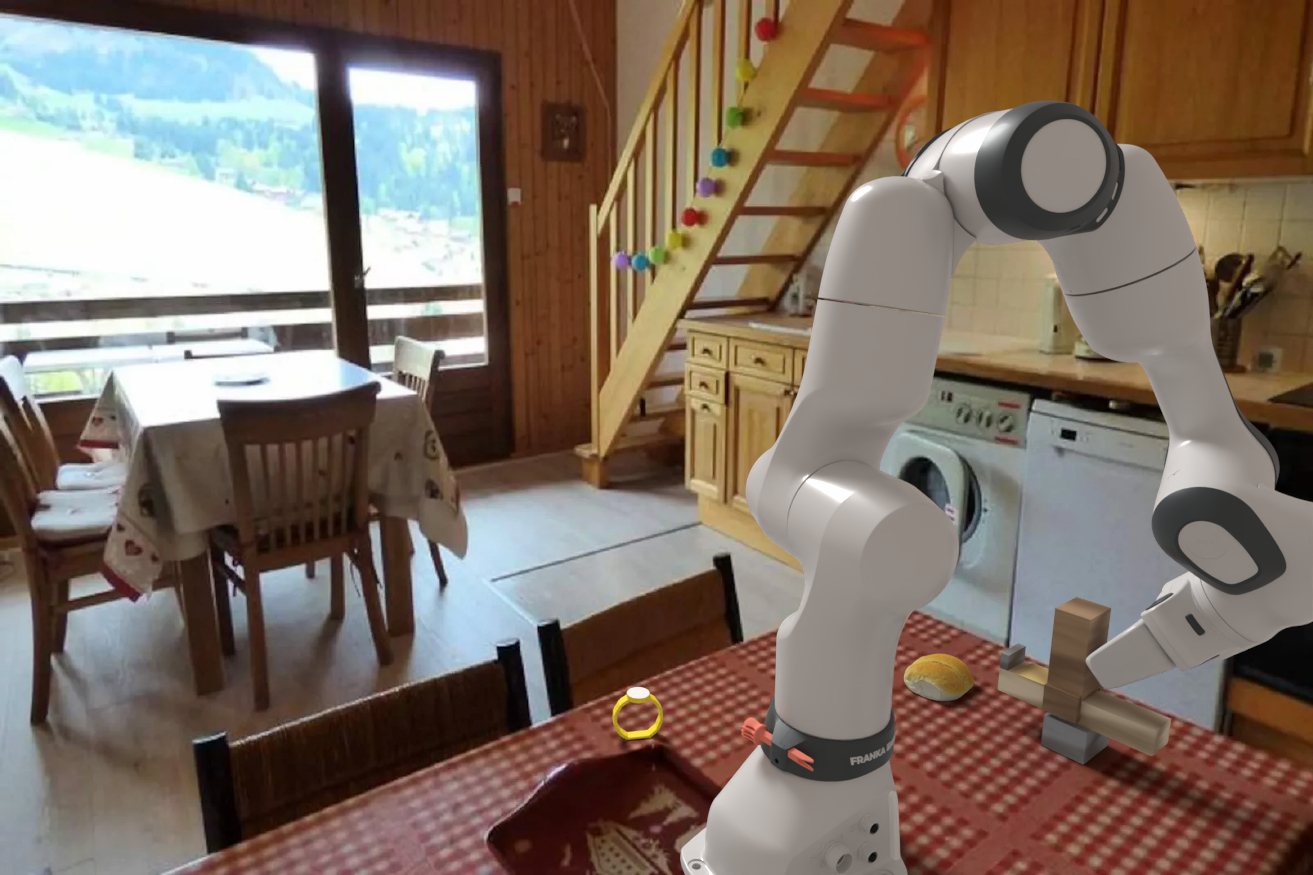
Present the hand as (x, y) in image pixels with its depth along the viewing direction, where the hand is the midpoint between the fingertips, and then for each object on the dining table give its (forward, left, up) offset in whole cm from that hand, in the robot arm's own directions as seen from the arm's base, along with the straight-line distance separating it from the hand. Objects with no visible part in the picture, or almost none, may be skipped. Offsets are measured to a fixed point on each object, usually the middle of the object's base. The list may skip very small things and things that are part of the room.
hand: (1100, 665), depth 97 cm
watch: (-39, +36, -11) cm, 54 cm away
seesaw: (0, +2, -11) cm, 11 cm away
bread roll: (0, +20, -12) cm, 23 cm away
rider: (0, +3, -7) cm, 7 cm away
